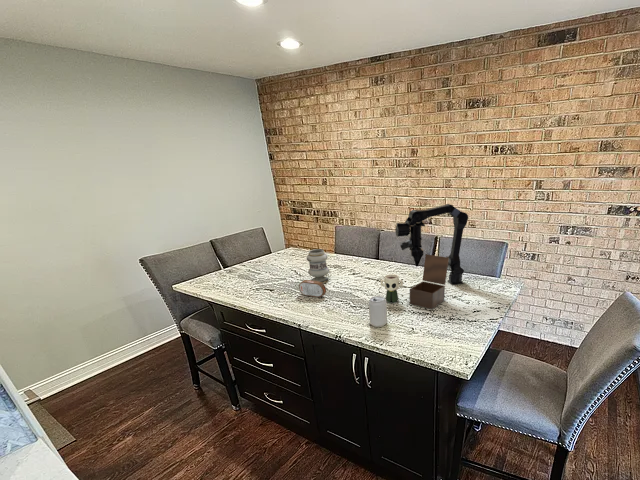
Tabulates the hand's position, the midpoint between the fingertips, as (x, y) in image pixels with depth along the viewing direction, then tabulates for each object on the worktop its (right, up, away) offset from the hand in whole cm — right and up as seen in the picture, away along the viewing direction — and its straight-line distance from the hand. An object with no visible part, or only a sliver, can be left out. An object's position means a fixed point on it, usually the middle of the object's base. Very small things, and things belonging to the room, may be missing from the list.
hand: (415, 263), depth 181 cm
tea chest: (+5, -20, -14) cm, 25 cm away
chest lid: (+9, -4, -14) cm, 17 cm away
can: (-18, -30, -35) cm, 50 cm away
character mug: (-13, -20, -12) cm, 27 cm away
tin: (-54, -18, -4) cm, 57 cm away
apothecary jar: (-56, -8, +18) cm, 60 cm away
